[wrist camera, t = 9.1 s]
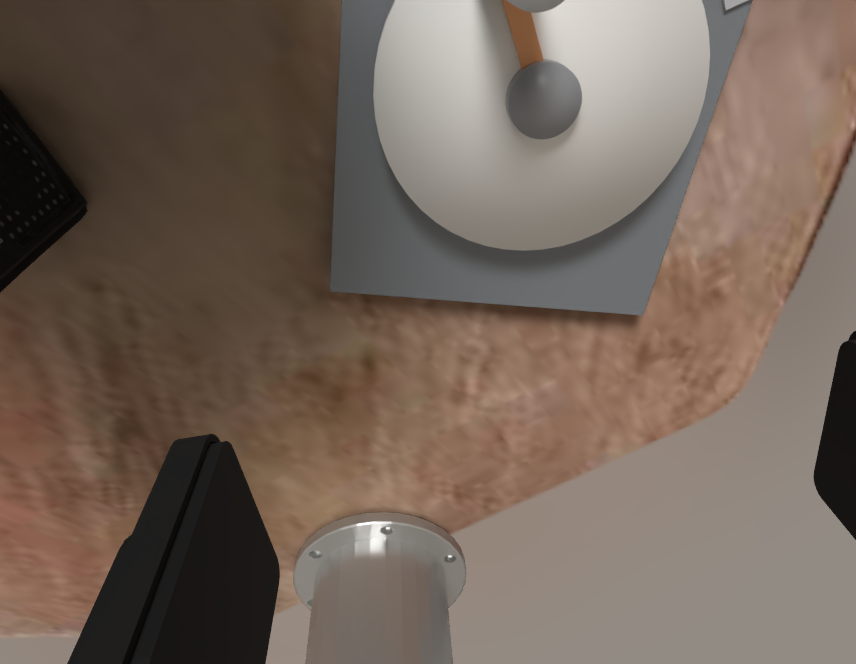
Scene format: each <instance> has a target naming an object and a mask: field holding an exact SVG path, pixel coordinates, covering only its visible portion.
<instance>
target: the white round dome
mask: <svg viewBox="0 0 856 664" xmlns="http://www.w3.org/2000/svg"><path fill="white" fill-rule="evenodd" d="M709 64H710V43H709V29H708V24H707V19H706V14H705V9H704V5H703V3H702V0H394V1H393V4H392V6H391V8H390V10H389V13H388V15H387V17H386V20H385V23H384V26H383V30H382V33H381V36H380V40H379V44H378V50H377V56H376V62H375V70H374V91H373V98H374V110H375V120H376V124H377V129H378V134H379V138H380V142H381V145H382V148H383V150H384V153H385V156H386V159H387V161H388V163H389V165H390V167H391V169H392V171H393V173H394V175H395V177H396V179H397V180H398V182H399V183H400V185H401V186H402V188H403V189H404V190H405V192H406V193H407V195H408V196H409V197H410V198H411V199H412V200H413V202H414V203H415V204H416V205H417V206H418V207H419V208H420V209H421V210H422V211H423V212H424V213H425V214H427V215H428V216H429V217H430V218H431V219H432V220H434V221H435V222H436V223H438V224H439V225H441V226H442V227H444V228H445V229H447V230H449V231H450V232H452V233H454V234H456V235H458V236H460V237H462V238H465V239H467V240H469V241H472V242H475V243H478V244H481V245H484V246H488V247H494V248H499V249H505V250H521V251H527V250H543V249H548V248H554V247H560V246H564V245H567V244H570V243H574V242H577V241H580V240H583V239H585V238H587V237H590V236H592V235H594V234H597V233H599V232H601V231H603V230H604V229H606V228H608V227H610V226H612V225H613V224H615V223H617V222H618V221H620V220H621V219H622V218H624V217H625V216H627V215H628V214H629V213H631V212H632V211H634V210H635V209H636V208H637V207H638V206H639V205H640V204H642V203H643V202H644V201H645V200H646V199H647V198H648V197H649V196H650V195H651V194H652V193H653V192H654V191H655V190H656V189H657V188H658V186H659V185H660V184H661V183H662V182H663V181H664V180H665V178H666V177H667V176H668V174H669V173H670V172H671V170H672V169H673V167H674V166H675V165H676V163H677V162H678V160H679V158H680V157H681V155H682V153H683V151H684V150H685V148H686V146H687V144H688V143H689V140H690V138H691V136H692V134H693V131H694V129H695V127H696V124H697V122H698V119H699V116H700V113H701V109H702V106H703V103H704V99H705V94H706V89H707V83H708V78H709Z"/></svg>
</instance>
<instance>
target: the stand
mask: <svg viewBox="0 0 856 664" xmlns="http://www.w3.org/2000/svg"><path fill="white" fill-rule="evenodd" d="M393 1H394V0H342V14H341V38H340V62H339V86H338V110H337V134H336V158H335V182H334V206H333V230H332V254H331V278H330V291H332V292H345V293H358V294H371V295H384V296H397V297H410V298H423V299H436V300H448V301H461V302H474V303H487V304H500V305H513V306H526V307H539V308H552V309H565V310H578V311H591V312H604V313H617V314H630V315H643V313H644V311H645V308H646V305H647V302H648V299H649V296H650V293H651V290H652V288H653V285H654V282H655V279H656V276H657V273H658V270H659V267H660V265H661V262H662V259H663V256H664V253H665V250H666V247H667V245H668V242H669V239H670V236H671V233H672V230H673V227H674V224H675V222H676V219H677V216H678V213H679V210H680V207H681V204H682V201H683V199H684V196H685V193H686V190H687V187H688V184H689V181H690V178H691V176H692V173H693V170H694V167H695V164H696V161H697V158H698V155H699V153H700V150H701V147H702V144H703V141H704V138H705V135H706V132H707V130H708V127H709V124H710V121H711V118H712V115H713V112H714V109H715V107H716V104H717V101H718V98H719V95H720V92H721V89H722V86H723V84H724V81H725V78H726V75H727V72H728V69H729V66H730V63H731V61H732V58H733V55H734V52H735V49H736V46H737V43H738V40H739V38H740V35H741V32H742V29H743V26H744V23H745V20H746V18H747V15H748V12H749V9H750V6H751V3H752V0H702V3H703V5H704V9H705V14H706V19H707V24H708V29H709V43H710V64H709V78H708V83H707V89H706V94H705V99H704V103H703V106H702V109H701V113H700V116H699V119H698V122H697V124H696V127H695V129H694V131H693V134H692V136H691V138H690V140H689V143H688V144H687V146H686V148H685V150H684V151H683V153H682V155H681V157H680V158H679V160H678V162H677V163H676V165H675V166H674V167H673V169H672V170H671V172H670V173H669V174H668V176H667V177H666V178H665V180H664V181H663V182H662V183H661V184H660V185H659V186H658V188H657V189H656V190H655V191H654V192H653V193H652V194H651V195H650V196H649V197H648V198H647V199H646V200H645V201H644V202H643V203H642V204H640V205H639V206H638V207H637V208H636V209H635V210H634V211H632V212H631V213H629V214H628V215H627V216H625V217H624V218H622V219H621V220H620V221H618V222H617V223H615V224H613V225H612V226H610V227H608V228H606V229H604V230H603V231H601V232H599V233H597V234H594V235H592V236H590V237H587V238H585V239H583V240H580V241H577V242H574V243H570V244H567V245H564V246H560V247H554V248H548V249H543V250H527V251H521V250H505V249H499V248H494V247H488V246H484V245H481V244H478V243H475V242H472V241H469V240H467V239H465V238H462V237H460V236H458V235H456V234H454V233H452V232H450V231H449V230H447V229H445V228H444V227H442V226H441V225H439V224H438V223H436V222H435V221H434V220H432V219H431V218H430V217H429V216H428V215H427V214H425V213H424V212H423V211H422V210H421V209H420V208H419V207H418V206H417V205H416V204H415V203H414V202H413V200H412V199H411V198H410V197H409V196H408V195H407V193H406V192H405V190H404V189H403V188H402V186H401V185H400V183H399V182H398V180H397V179H396V177H395V175H394V173H393V171H392V169H391V167H390V165H389V163H388V161H387V159H386V156H385V153H384V150H383V148H382V145H381V142H380V138H379V134H378V129H377V124H376V120H375V110H374V98H373V91H374V70H375V62H376V56H377V50H378V44H379V40H380V36H381V33H382V30H383V26H384V23H385V20H386V17H387V15H388V13H389V10H390V8H391V6H392V4H393Z"/></svg>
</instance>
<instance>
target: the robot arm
mask: <svg viewBox="0 0 856 664" xmlns="http://www.w3.org/2000/svg"><path fill="white" fill-rule="evenodd" d="M814 483H815V486H816V489H817V491H818V493H819V495H820V496H821V498H822V499H823V501H824V502H825V503H826V504H827V506H828V507H829V508H830V509H831V510H832V512H833V513H834V514H835V515H836V516H837V518H838V519H839V520H840V521H841V522H842V524H843V525H844V526H845V527H846V529H847V530H848V531H849V532H850V533H851V535H852V536H853V537H854V538H855V540H856V331H855V332H853V333H852V334H851V336H850V338H849V340H848V341H846V342H844V343H843V344H842V345H841V346H840V349H839V352H838V357H837V362H836V367H835V373H834V377H833V382H832V387H831V391H830V396H829V401H828V406H827V411H826V416H825V421H824V426H823V431H822V436H821V440H820V445H819V450H818V456H817V460H816V465H815V470H814ZM279 578H280V571H279V563H278V559H277V556H276V553H275V551H274V548H273V546H272V543H271V541H270V538H269V536H268V533H267V531H266V528H265V526H264V524H263V521H262V519H261V516H260V514H259V511H258V509H257V506H256V504H255V501H254V499H253V496H252V494H251V491H250V489H249V486H248V484H247V481H246V479H245V476H244V474H243V471H242V469H241V466H240V464H239V462H238V459H237V457H236V454H235V452H234V449H233V447H232V445H231V444H230V443H229V442H227V441H225V442H220V440H219V439H218V437H217V436H216V435H213V434H209V435H203V436H197V437H190V438H184V439H178V440H176V441H174V443H173V444H172V446H171V448H170V450H169V452H168V454H167V457H166V459H165V461H164V463H163V466H162V468H161V470H160V472H159V475H158V477H157V479H156V481H155V484H154V486H153V488H152V490H151V493H150V495H149V497H148V499H147V502H146V504H145V506H144V508H143V511H142V513H141V515H140V517H139V520H138V522H137V524H136V526H135V529H134V531H133V533H132V535H131V536H129V537H128V538H127V539H126V540H125V541H124V543H123V544H122V546H121V547H120V549H119V551H118V553H117V556H116V558H115V560H114V562H113V564H112V567H111V569H110V571H109V573H108V575H107V578H106V580H105V582H104V584H103V586H102V589H101V591H100V593H99V595H98V597H97V600H96V602H95V604H94V606H93V608H92V611H91V613H90V615H89V617H88V619H87V622H86V624H85V626H84V628H83V630H82V633H81V635H80V637H79V639H78V642H77V644H76V646H75V648H74V650H73V652H72V655H71V657H70V659H69V661H68V663H67V664H265V662H266V656H267V650H268V644H269V638H270V633H271V626H272V621H273V615H274V609H275V604H276V598H277V592H278V586H279ZM465 579H466V567H465V560H464V556H463V553H462V550H461V548H460V546H459V545H458V544H457V542H456V541H455V539H454V538H453V537H452V536H451V535H450V534H448V533H447V532H446V531H445V530H444V529H442V528H440V527H439V526H437V525H435V524H433V523H432V522H429V521H427V520H424V519H421V518H418V517H415V516H411V515H406V514H401V513H390V512H375V513H364V514H359V515H354V516H349V517H346V518H343V519H340V520H337V521H334V522H332V523H330V524H329V525H327V526H325V527H323V528H321V529H319V530H318V531H317V532H316V533H314V534H313V535H312V536H311V537H309V538H308V540H307V541H306V542H305V543H304V544H303V546H302V547H301V548H300V551H299V553H298V555H297V557H296V561H295V567H294V573H293V583H294V587H295V590H296V593H297V595H298V596H299V598H300V600H301V601H302V603H303V604H304V605H305V606H306V607H307V608H308V609H310V610H311V618H310V626H309V636H308V645H307V653H306V663H305V664H453V658H452V648H451V636H450V625H449V615H448V614H449V613H448V608H449V607H450V606H451V605H452V604H453V603H454V602H455V601H456V599H457V597H458V596H459V595H460V594H461V592H462V589H463V587H464V584H465Z"/></svg>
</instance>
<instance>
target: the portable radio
mask: <svg viewBox="0 0 856 664" xmlns="http://www.w3.org/2000/svg"><path fill="white" fill-rule="evenodd" d="M86 204H87V201H86V200H85V199H84V197H83V196H82V195H81V193H80V192H79V191H78V189H77V188H76V187H75V185H74V184H73V183H72V181H71V180H70V179H69V177H68V176H67V175H66V174H65V172H64V171H63V170H62V168H61V167H60V166H59V164H58V163H57V162H56V160H55V159H54V158H53V156H52V155H51V154H50V152H49V151H48V150H47V148H46V147H45V146H44V145H43V143H42V142H41V141H40V139H39V138H38V137H37V136H36V134H35V133H34V132H33V131H32V129H31V128H30V127H29V125H28V124H27V123H26V122H25V120H24V119H23V118H22V117H21V115H20V114H19V113H18V111H17V110H16V109H15V108H14V106H13V105H12V104H11V103H10V101H9V100H8V99H7V97H6V96H5V95H4V94H3V92H2V91H1V90H0V292H1V291H2V290H3V289H4V288H6V287H7V286H8V285H9V284H10V283H11V282H12V281H13V280H14V279H15V278H16V277H17V276H18V275H19V274H20V273H22V272H23V271H24V270H25V269H26V268H27V267H28V266H29V265H30V264H32V263H33V262H34V261H35V260H36V259H37V258H38V257H39V256H40V255H42V254H43V253H44V252H45V251H46V250H47V249H48V248H49V247H51V246H52V245H53V244H54V243H55V242H56V241H57V240H58V239H60V238H61V237H62V236H63V235H64V234H65V233H66V232H67V231H69V230H70V229H71V228H72V227H73V226H74V225H75V224H76V223H78V222H79V221H80V220H81V219H82V218H83V216H84V215H85V214H86V212H87V208H86Z"/></svg>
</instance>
